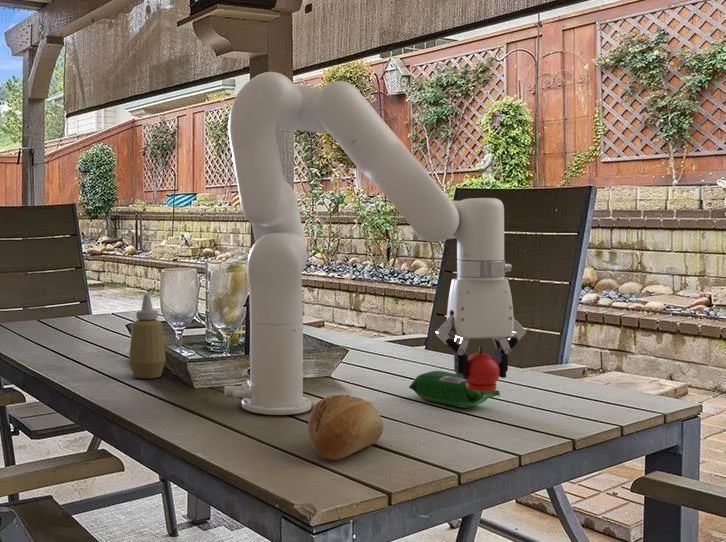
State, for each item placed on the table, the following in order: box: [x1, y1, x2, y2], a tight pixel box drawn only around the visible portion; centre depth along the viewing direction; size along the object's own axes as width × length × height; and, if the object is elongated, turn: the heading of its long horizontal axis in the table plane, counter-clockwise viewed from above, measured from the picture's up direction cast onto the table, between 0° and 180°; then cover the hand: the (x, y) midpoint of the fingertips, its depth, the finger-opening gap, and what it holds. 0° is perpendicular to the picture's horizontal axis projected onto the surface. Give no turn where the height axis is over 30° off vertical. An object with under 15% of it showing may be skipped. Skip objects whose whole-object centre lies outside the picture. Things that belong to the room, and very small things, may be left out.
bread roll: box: [307, 394, 384, 461], centre depth 110 cm, size 10×15×8 cm, turn 146°
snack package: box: [408, 370, 501, 409], centre depth 139 cm, size 7×16×5 cm, turn 35°
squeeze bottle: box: [128, 293, 166, 380], centre depth 164 cm, size 8×8×18 cm
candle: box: [466, 345, 500, 391], centre depth 128 cm, size 6×6×7 cm
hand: (480, 375), depth 128 cm, fingers closed on candle, 6 cm apart
